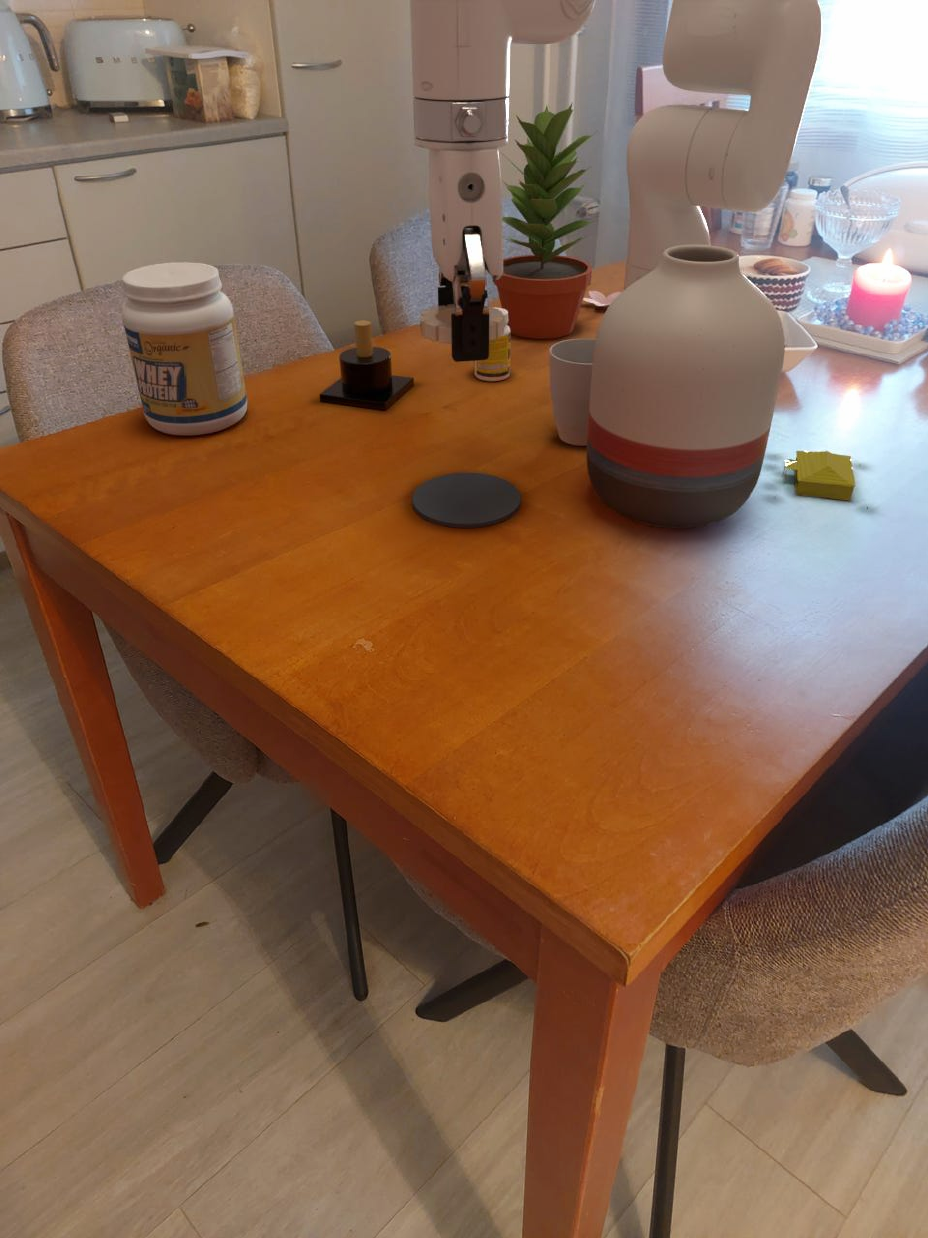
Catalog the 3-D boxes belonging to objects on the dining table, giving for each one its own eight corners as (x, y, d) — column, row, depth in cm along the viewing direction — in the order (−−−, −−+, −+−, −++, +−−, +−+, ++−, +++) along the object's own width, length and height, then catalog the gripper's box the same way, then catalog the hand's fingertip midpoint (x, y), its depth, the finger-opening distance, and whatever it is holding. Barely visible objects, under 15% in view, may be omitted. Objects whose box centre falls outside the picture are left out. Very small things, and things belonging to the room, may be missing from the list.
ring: (514, 323, 82) (514, 307, 81) (487, 348, 76) (487, 332, 76) (439, 315, 84) (439, 300, 83) (408, 339, 79) (407, 323, 78)
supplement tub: (125, 432, 105) (88, 284, 95) (182, 394, 114) (154, 256, 104) (216, 444, 102) (188, 293, 92) (267, 404, 111) (246, 263, 101)
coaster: (534, 485, 93) (534, 481, 93) (500, 536, 84) (500, 531, 84) (436, 470, 96) (436, 465, 96) (394, 517, 88) (394, 512, 87)
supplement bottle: (515, 379, 117) (516, 314, 112) (481, 384, 116) (481, 318, 111) (502, 367, 121) (502, 304, 116) (469, 371, 120) (468, 308, 115)
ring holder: (414, 385, 116) (410, 315, 111) (385, 410, 109) (380, 337, 104) (351, 377, 119) (345, 308, 114) (320, 401, 112) (312, 329, 107)
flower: (625, 318, 138) (626, 308, 137) (564, 310, 141) (564, 300, 140) (643, 301, 145) (644, 291, 144) (584, 294, 148) (585, 284, 148)
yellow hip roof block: (867, 509, 88) (875, 483, 86) (771, 498, 90) (776, 472, 88) (860, 466, 96) (866, 441, 94) (771, 456, 98) (776, 432, 96)
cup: (622, 427, 105) (630, 342, 99) (608, 455, 98) (616, 367, 93) (555, 418, 107) (559, 335, 101) (537, 446, 101) (541, 359, 95)
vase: (787, 526, 85) (847, 269, 72) (625, 554, 82) (655, 288, 68) (700, 453, 99) (737, 224, 85) (557, 474, 95) (571, 238, 81)
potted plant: (521, 307, 143) (527, 90, 126) (605, 323, 136) (624, 96, 118) (467, 331, 133) (466, 101, 116) (555, 351, 126) (567, 108, 109)
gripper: (531, 136, 64) (523, 375, 74) (487, 109, 78) (485, 314, 88) (428, 139, 63) (434, 381, 73) (402, 112, 77) (410, 318, 87)
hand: (462, 343), depth 81 cm, fingers closed on ring, 7 cm apart
